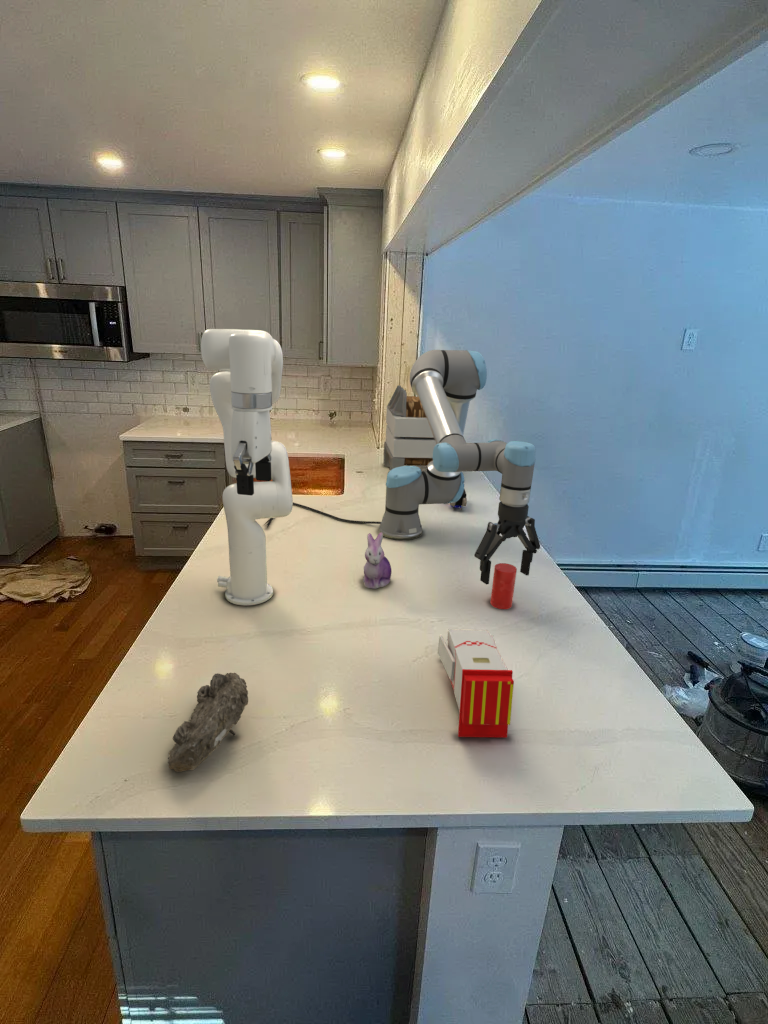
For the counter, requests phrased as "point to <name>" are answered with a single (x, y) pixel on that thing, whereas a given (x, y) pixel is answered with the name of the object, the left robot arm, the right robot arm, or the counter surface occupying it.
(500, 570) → the can
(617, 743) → the counter surface
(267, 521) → the feather
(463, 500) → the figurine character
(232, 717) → the fossil
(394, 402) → the grey wooden crate
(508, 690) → the toy
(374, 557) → the figurine
